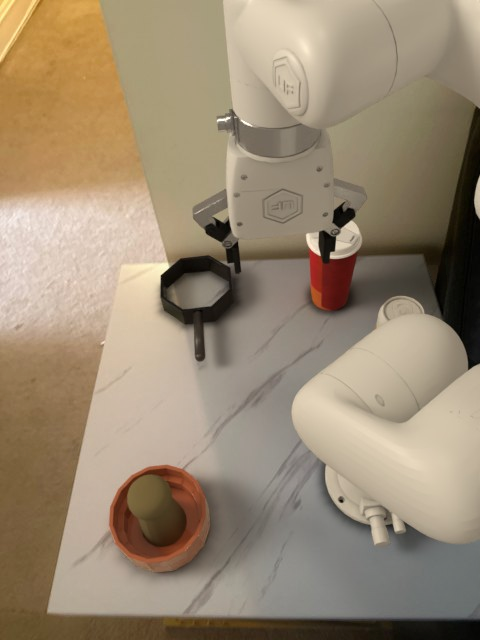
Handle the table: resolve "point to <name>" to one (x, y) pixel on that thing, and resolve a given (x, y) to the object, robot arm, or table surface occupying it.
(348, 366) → the robot arm
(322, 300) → the coffee cup
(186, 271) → the pan
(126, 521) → the bowl
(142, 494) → the olive rounded piece
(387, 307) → the beer can
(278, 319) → the table surface
